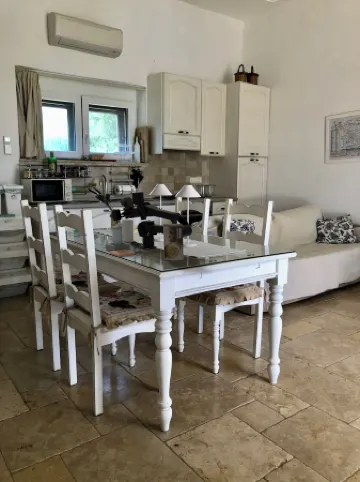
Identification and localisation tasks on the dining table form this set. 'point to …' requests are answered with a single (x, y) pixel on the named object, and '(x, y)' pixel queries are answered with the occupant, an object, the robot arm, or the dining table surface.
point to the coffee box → (173, 241)
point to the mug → (127, 230)
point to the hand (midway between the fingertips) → (115, 214)
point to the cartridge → (117, 235)
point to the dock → (119, 249)
